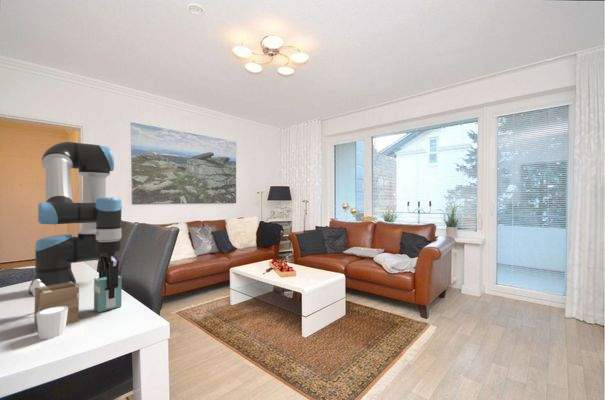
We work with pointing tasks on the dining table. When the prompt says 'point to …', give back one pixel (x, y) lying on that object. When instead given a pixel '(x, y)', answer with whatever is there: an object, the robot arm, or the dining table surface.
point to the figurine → (36, 286)
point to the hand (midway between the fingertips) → (107, 305)
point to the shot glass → (52, 322)
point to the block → (100, 294)
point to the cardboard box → (58, 299)
